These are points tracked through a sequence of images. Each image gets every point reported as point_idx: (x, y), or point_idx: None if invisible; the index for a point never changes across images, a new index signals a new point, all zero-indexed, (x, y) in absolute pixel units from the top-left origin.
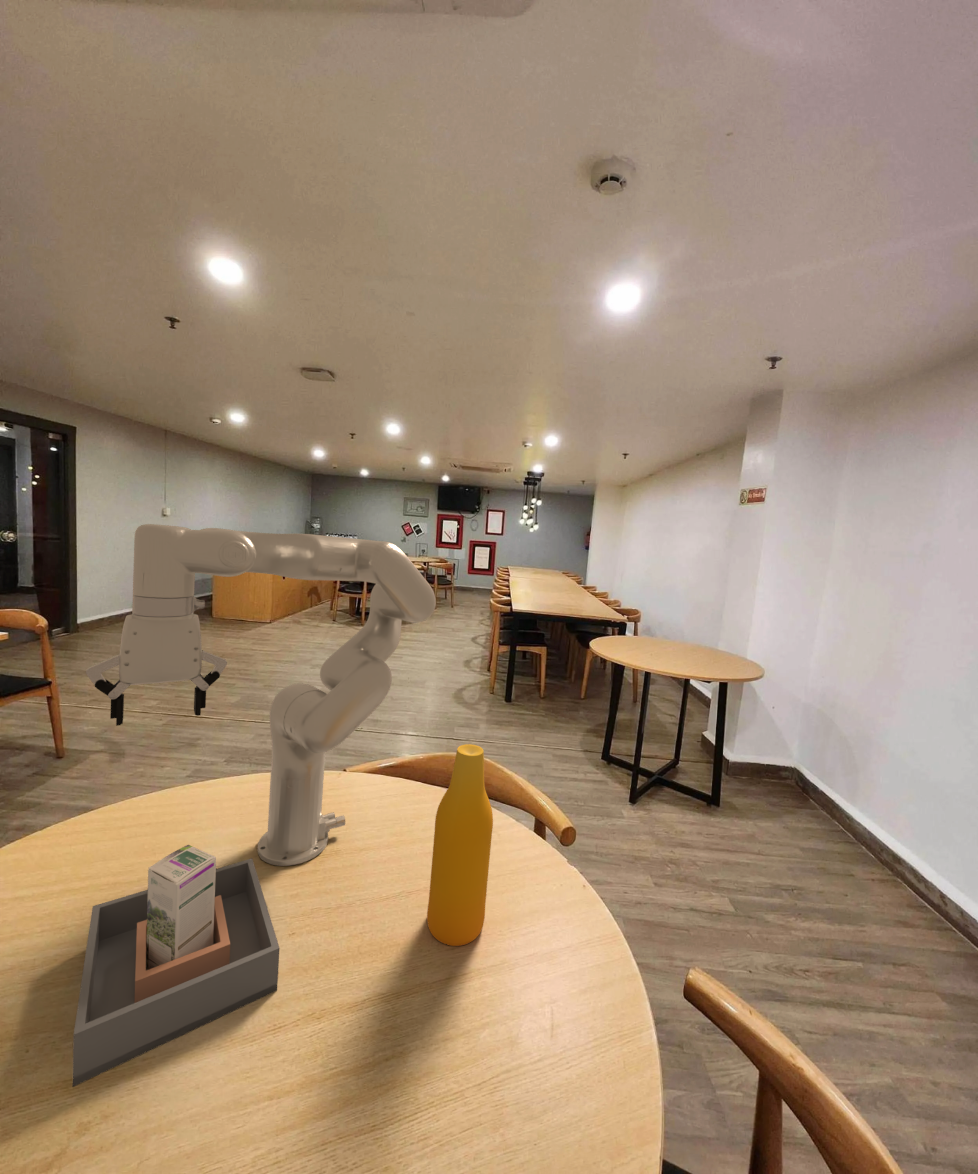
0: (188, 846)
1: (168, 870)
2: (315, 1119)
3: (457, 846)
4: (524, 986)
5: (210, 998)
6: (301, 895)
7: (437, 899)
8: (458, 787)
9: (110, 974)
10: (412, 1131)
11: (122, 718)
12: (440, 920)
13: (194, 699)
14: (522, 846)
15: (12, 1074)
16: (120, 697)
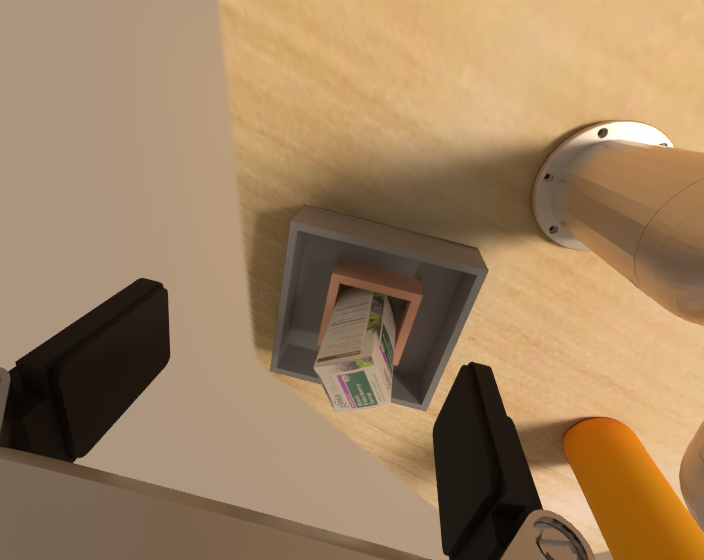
0: (369, 362)
1: (332, 389)
2: (394, 453)
3: None
4: (565, 500)
5: None
6: (519, 298)
7: (582, 479)
8: None
9: (313, 273)
10: (430, 488)
11: (152, 378)
12: (571, 463)
13: (466, 428)
14: None
15: (251, 304)
16: (55, 445)
